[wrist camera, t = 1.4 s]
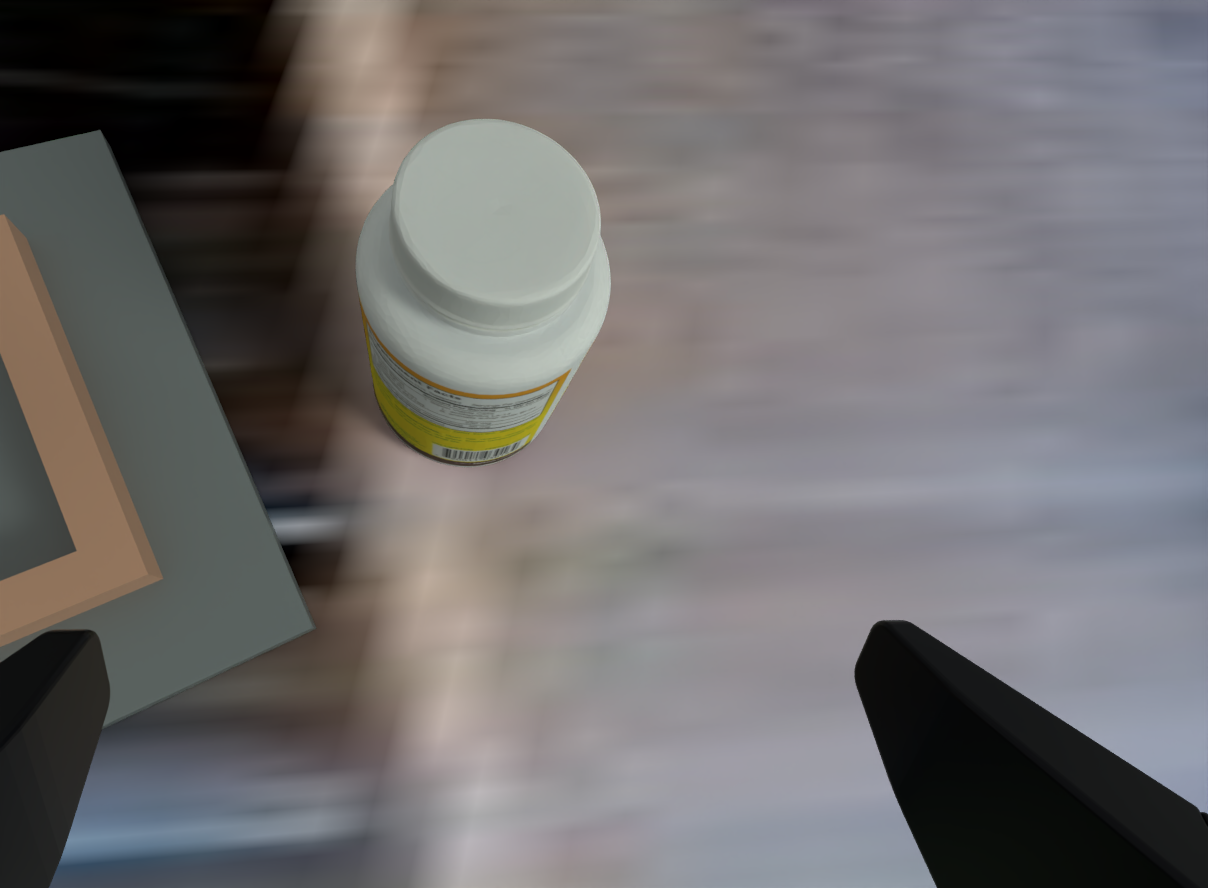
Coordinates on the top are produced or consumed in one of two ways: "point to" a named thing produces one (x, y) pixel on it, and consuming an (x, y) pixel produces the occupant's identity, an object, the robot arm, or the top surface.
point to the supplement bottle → (480, 289)
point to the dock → (119, 447)
